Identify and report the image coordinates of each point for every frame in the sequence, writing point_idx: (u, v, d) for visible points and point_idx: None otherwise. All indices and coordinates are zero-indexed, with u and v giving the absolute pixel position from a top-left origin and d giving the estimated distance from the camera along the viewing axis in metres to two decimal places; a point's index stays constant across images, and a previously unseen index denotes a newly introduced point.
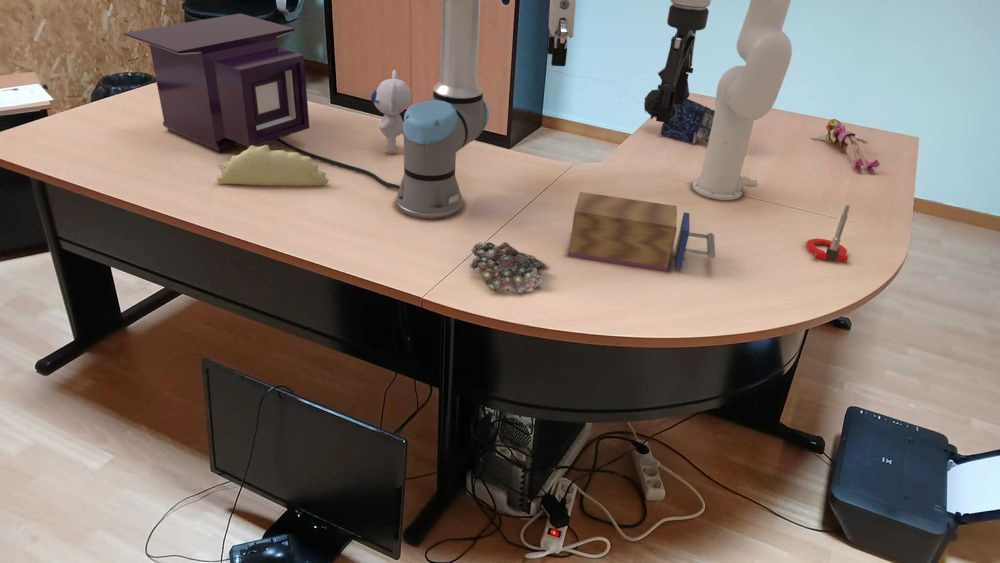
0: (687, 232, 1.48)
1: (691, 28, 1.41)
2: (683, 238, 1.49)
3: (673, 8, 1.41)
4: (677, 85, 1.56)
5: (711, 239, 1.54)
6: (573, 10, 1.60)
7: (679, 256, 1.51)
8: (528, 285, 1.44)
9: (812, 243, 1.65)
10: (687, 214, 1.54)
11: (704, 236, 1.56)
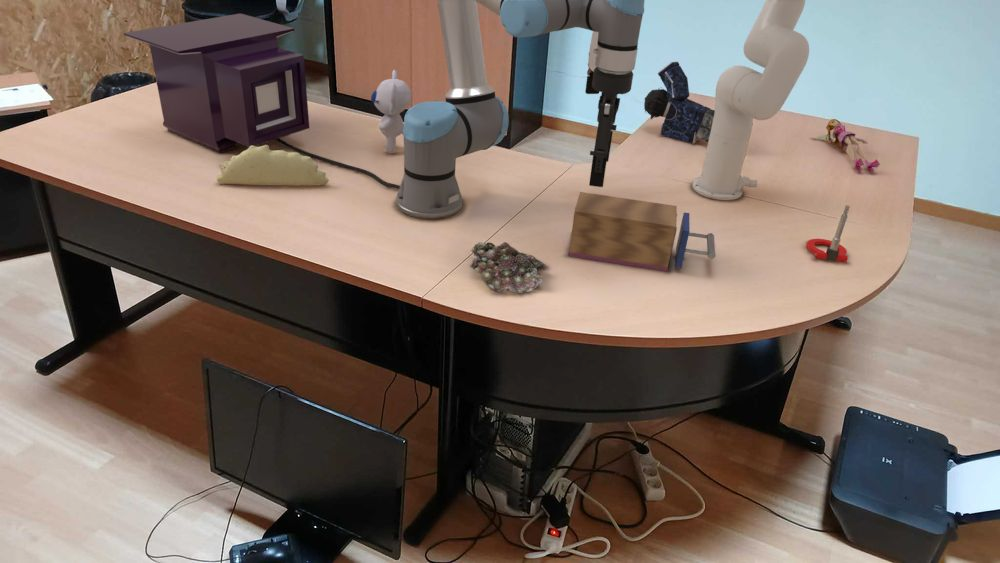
0: (687, 232, 1.48)
1: None
2: (683, 238, 1.49)
3: None
4: None
5: (711, 239, 1.54)
6: None
7: (679, 256, 1.51)
8: (528, 285, 1.44)
9: (812, 243, 1.65)
10: (687, 214, 1.54)
11: (704, 236, 1.56)
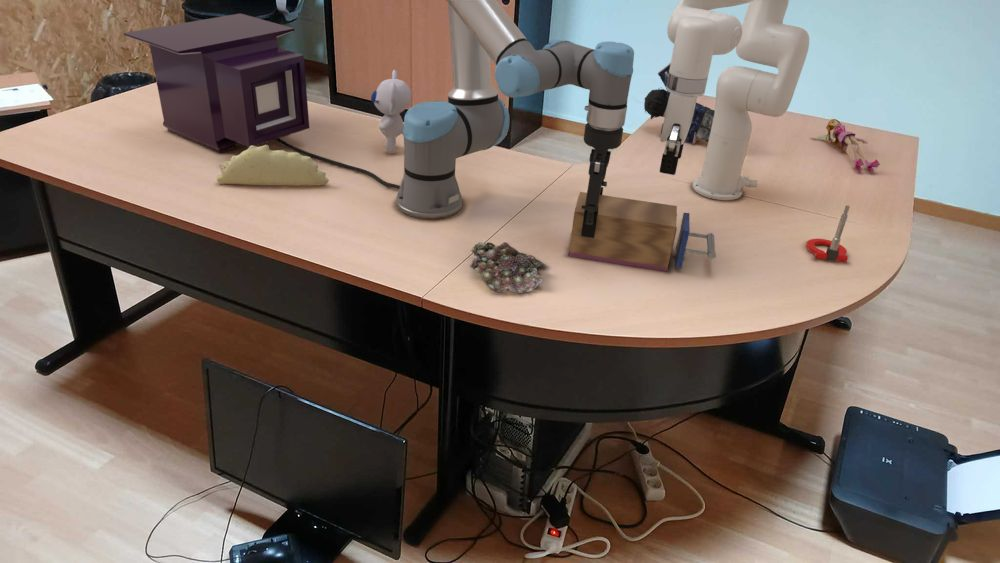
0: (687, 232, 1.48)
1: None
2: (683, 238, 1.49)
3: None
4: None
5: (711, 239, 1.54)
6: None
7: (679, 256, 1.51)
8: (528, 285, 1.44)
9: (812, 243, 1.65)
10: (687, 214, 1.54)
11: (704, 236, 1.56)
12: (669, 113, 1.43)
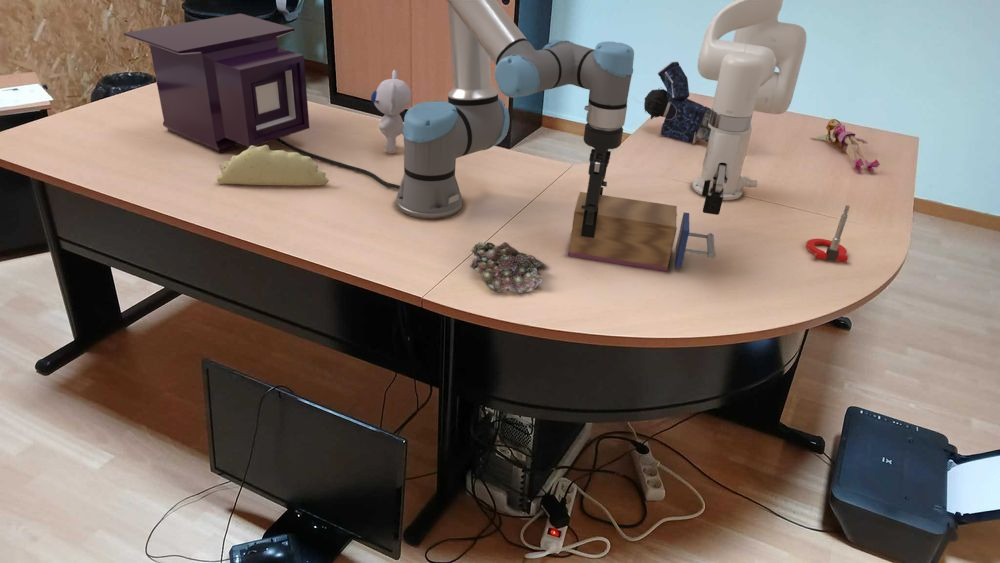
0: (687, 232, 1.48)
1: None
2: (683, 238, 1.49)
3: None
4: None
5: (711, 239, 1.54)
6: None
7: (679, 256, 1.51)
8: (528, 285, 1.44)
9: (812, 243, 1.65)
10: (687, 214, 1.54)
11: (704, 236, 1.56)
12: (715, 152, 1.38)
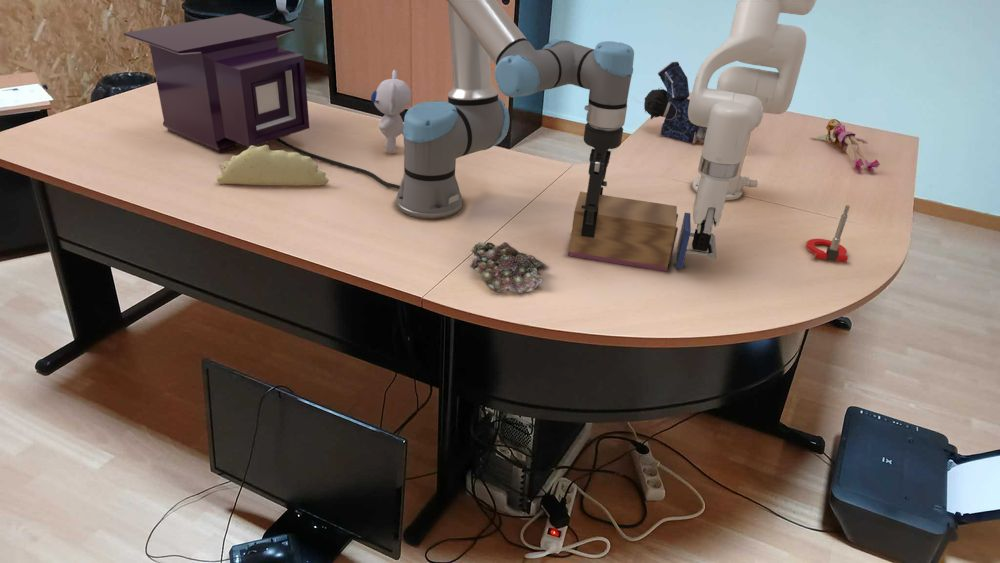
0: (688, 232, 1.48)
1: None
2: (684, 238, 1.49)
3: None
4: None
5: (712, 240, 1.54)
6: None
7: (680, 256, 1.51)
8: (528, 285, 1.44)
9: (812, 243, 1.65)
10: (688, 214, 1.54)
11: None
12: (704, 197, 1.43)
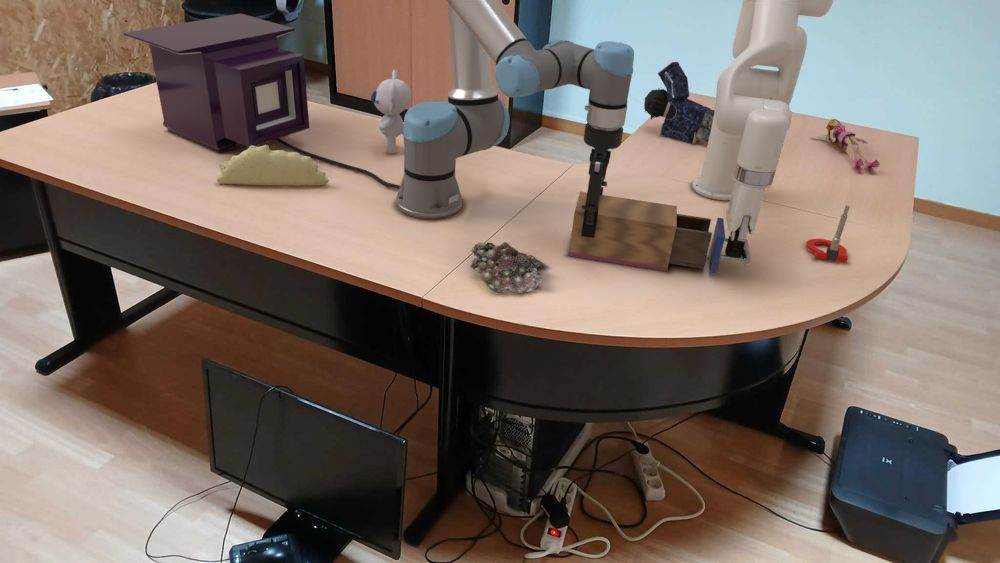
0: (723, 238, 1.47)
1: None
2: (718, 244, 1.48)
3: None
4: None
5: (745, 245, 1.53)
6: None
7: (714, 262, 1.50)
8: (528, 285, 1.44)
9: (812, 243, 1.65)
10: (721, 219, 1.53)
11: None
12: (740, 205, 1.42)
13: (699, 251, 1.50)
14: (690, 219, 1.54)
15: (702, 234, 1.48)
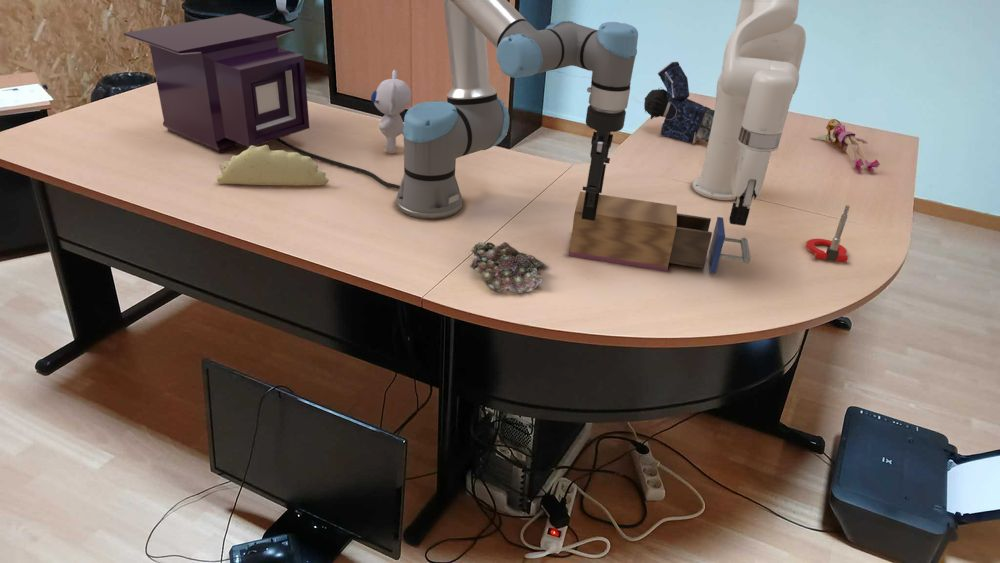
0: (723, 237, 1.47)
1: None
2: (718, 243, 1.48)
3: None
4: None
5: (745, 244, 1.53)
6: None
7: (714, 261, 1.50)
8: (528, 285, 1.44)
9: (812, 243, 1.65)
10: (721, 218, 1.53)
11: (738, 241, 1.55)
12: (745, 169, 1.38)
13: (699, 251, 1.50)
14: (690, 218, 1.54)
15: (702, 233, 1.48)
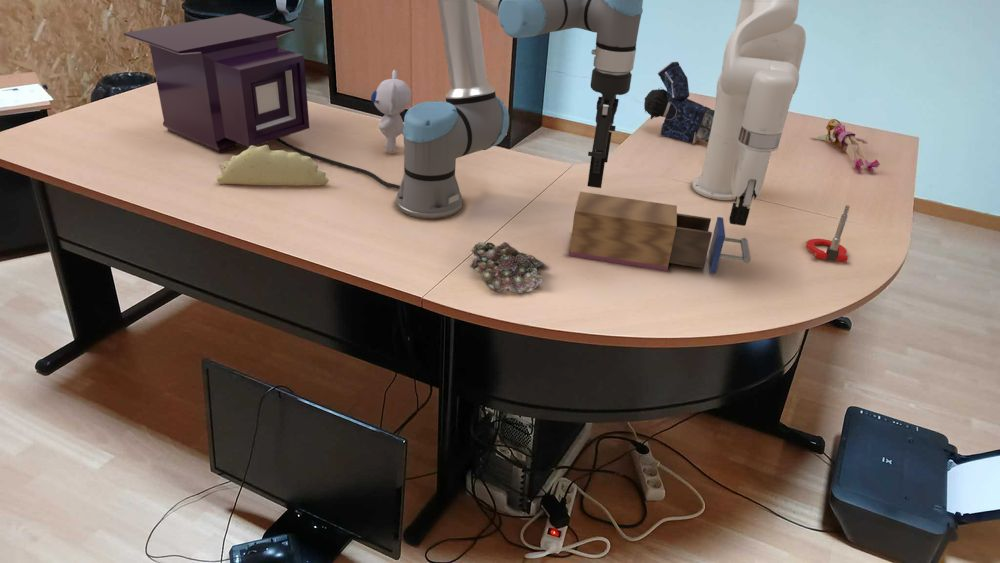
0: (723, 237, 1.47)
1: None
2: (718, 243, 1.48)
3: None
4: None
5: (745, 244, 1.53)
6: None
7: (714, 261, 1.50)
8: (528, 285, 1.44)
9: (812, 243, 1.65)
10: (721, 218, 1.53)
11: (738, 241, 1.55)
12: (745, 169, 1.38)
13: (699, 250, 1.50)
14: (690, 218, 1.54)
15: (702, 233, 1.48)
